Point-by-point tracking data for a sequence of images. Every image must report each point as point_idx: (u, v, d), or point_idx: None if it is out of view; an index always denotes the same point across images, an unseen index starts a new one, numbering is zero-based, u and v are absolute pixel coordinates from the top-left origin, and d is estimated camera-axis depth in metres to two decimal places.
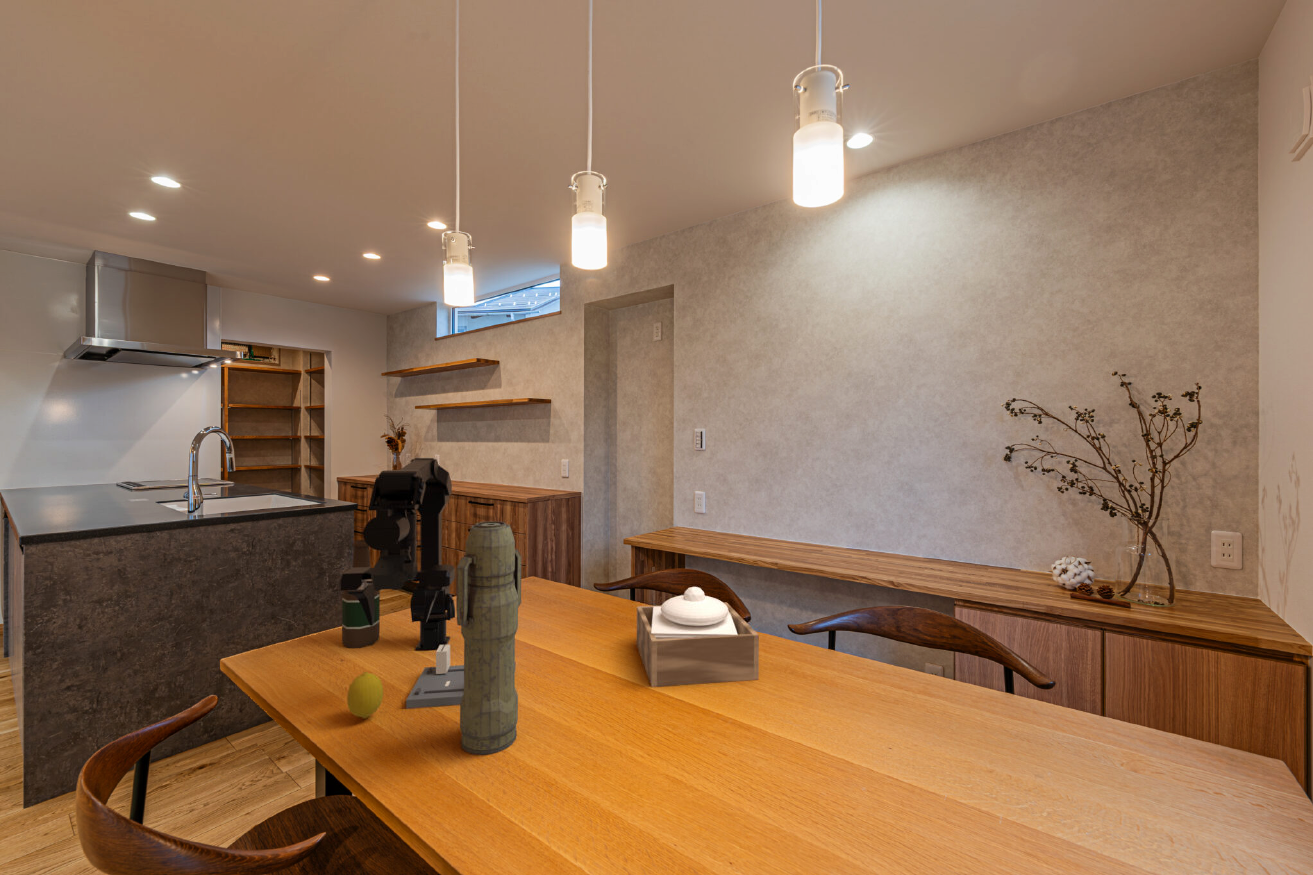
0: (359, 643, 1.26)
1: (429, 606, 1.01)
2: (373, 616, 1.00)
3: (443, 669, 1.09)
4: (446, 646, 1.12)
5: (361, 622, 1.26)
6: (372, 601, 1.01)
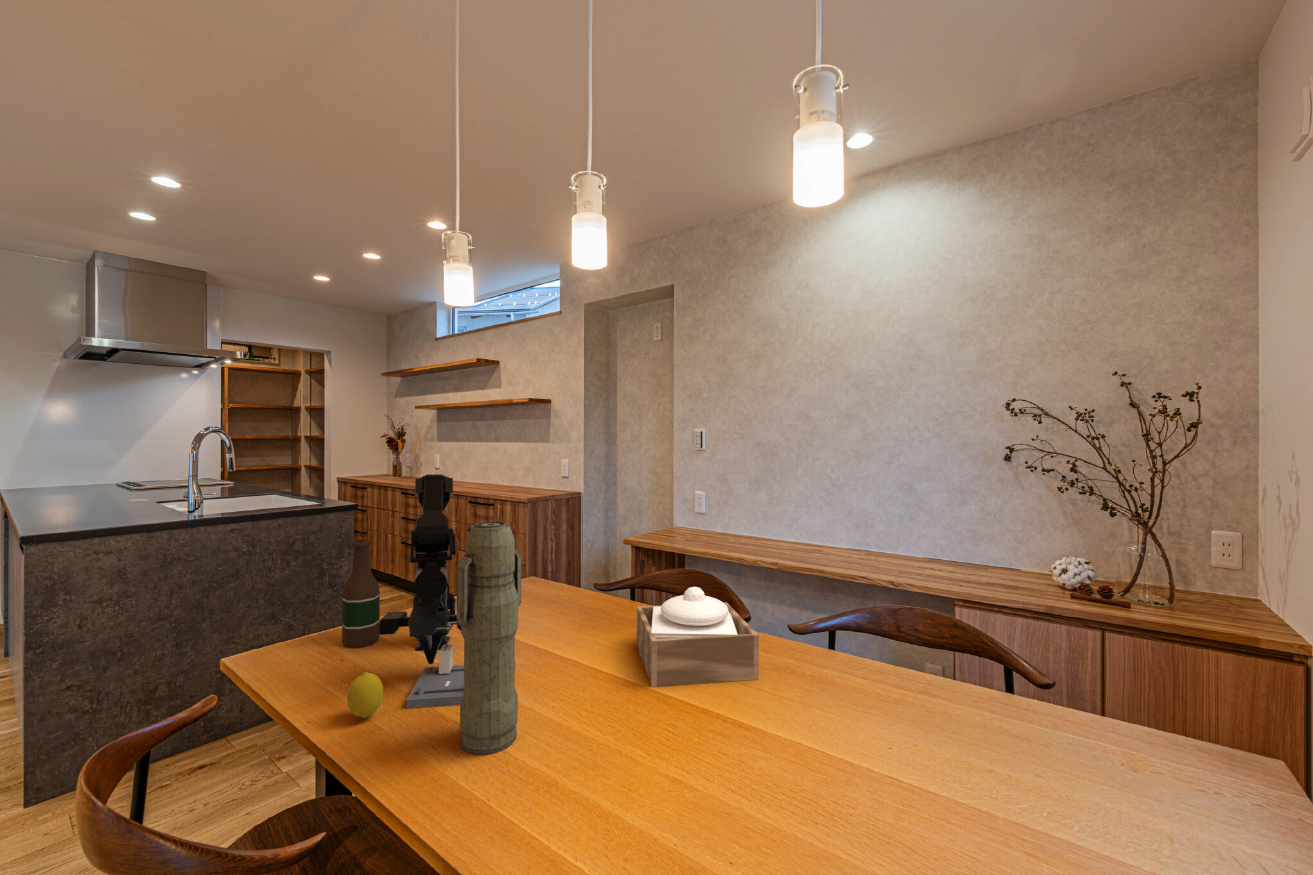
0: (359, 643, 1.26)
1: (435, 649, 1.09)
2: None
3: (446, 669, 1.09)
4: (449, 646, 1.12)
5: (361, 622, 1.26)
6: (430, 641, 1.11)
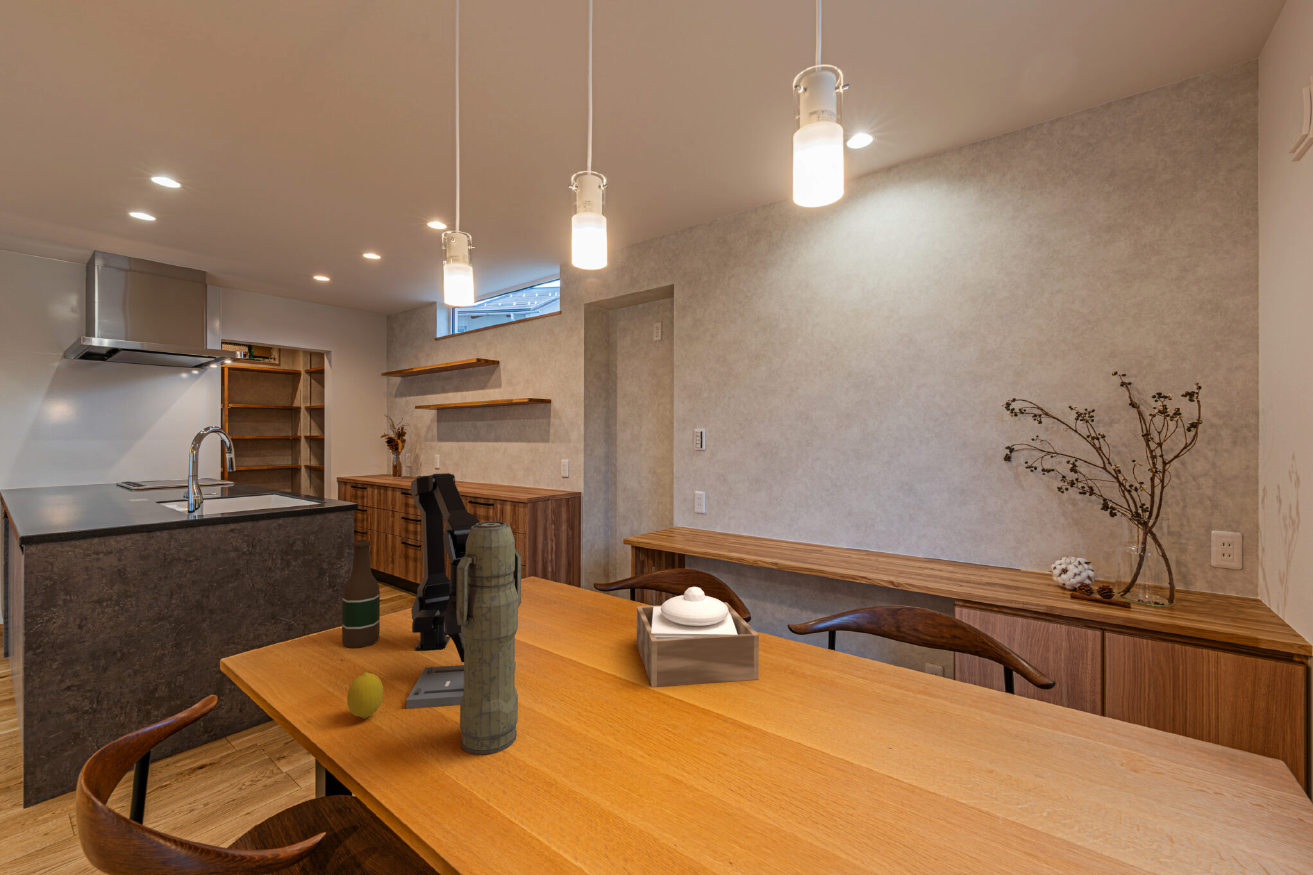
0: (359, 643, 1.26)
1: None
2: None
3: None
4: None
5: (361, 622, 1.26)
6: (463, 640, 1.12)
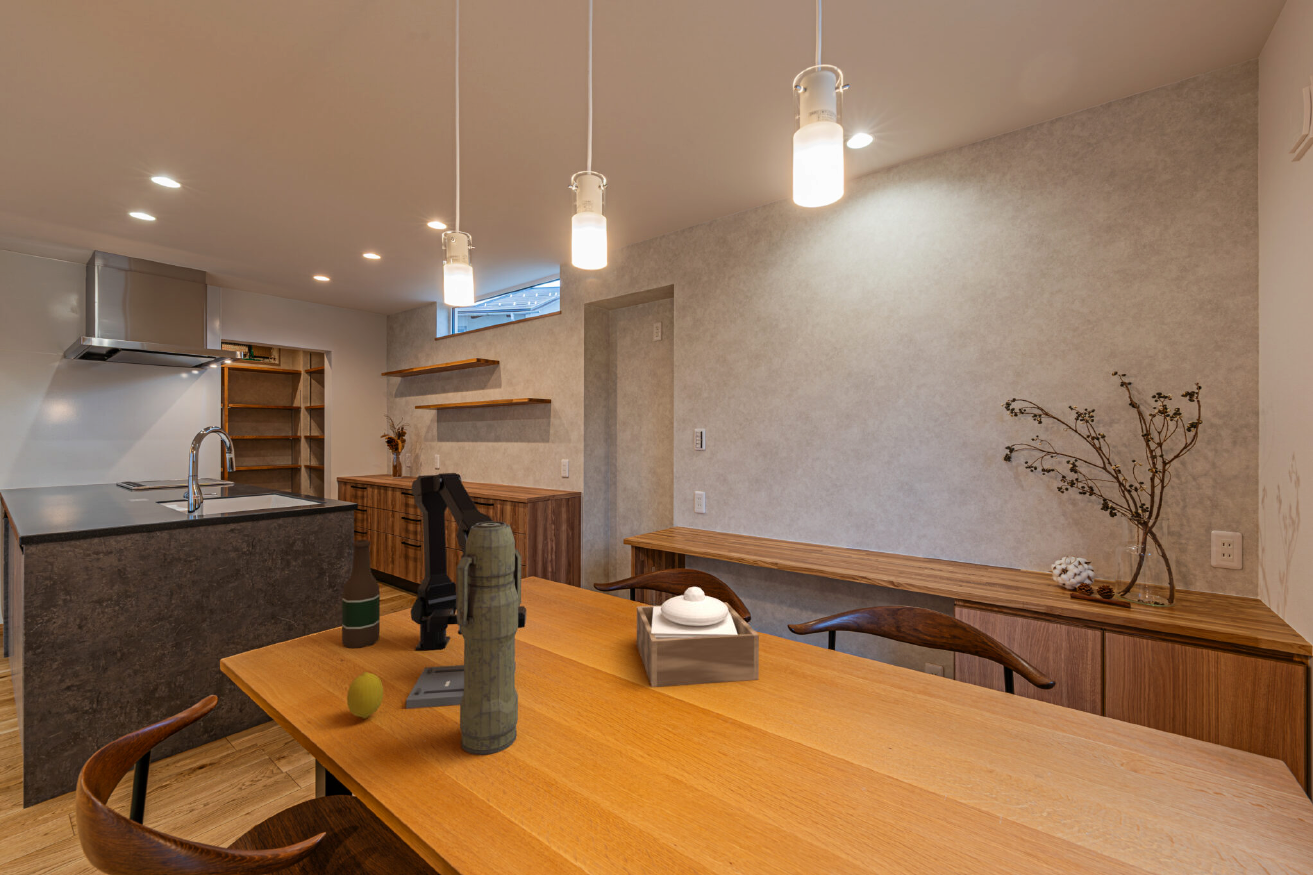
0: (359, 643, 1.26)
1: None
2: None
3: None
4: None
5: (361, 622, 1.26)
6: None
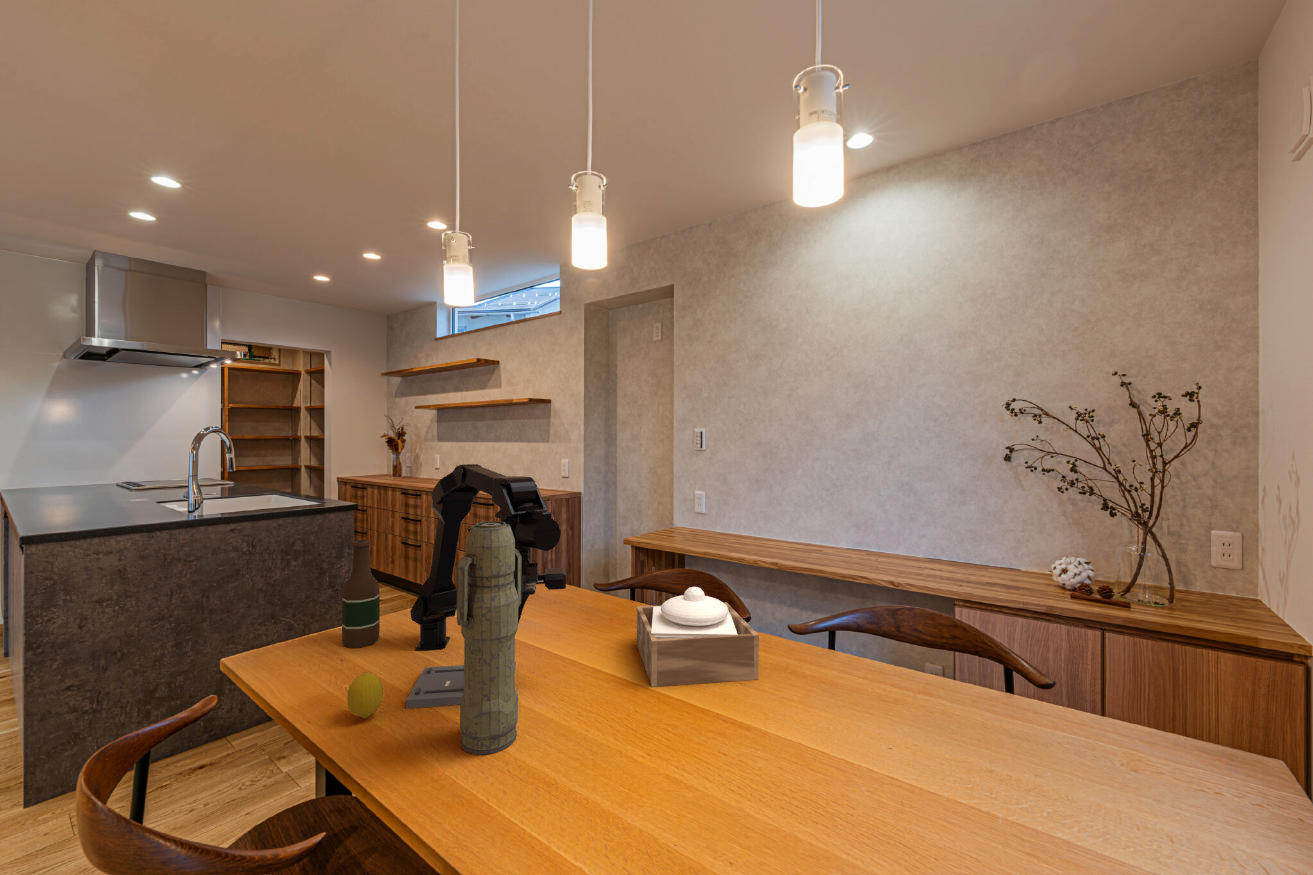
0: (359, 643, 1.26)
1: (521, 609, 1.03)
2: None
3: None
4: None
5: (361, 622, 1.26)
6: None
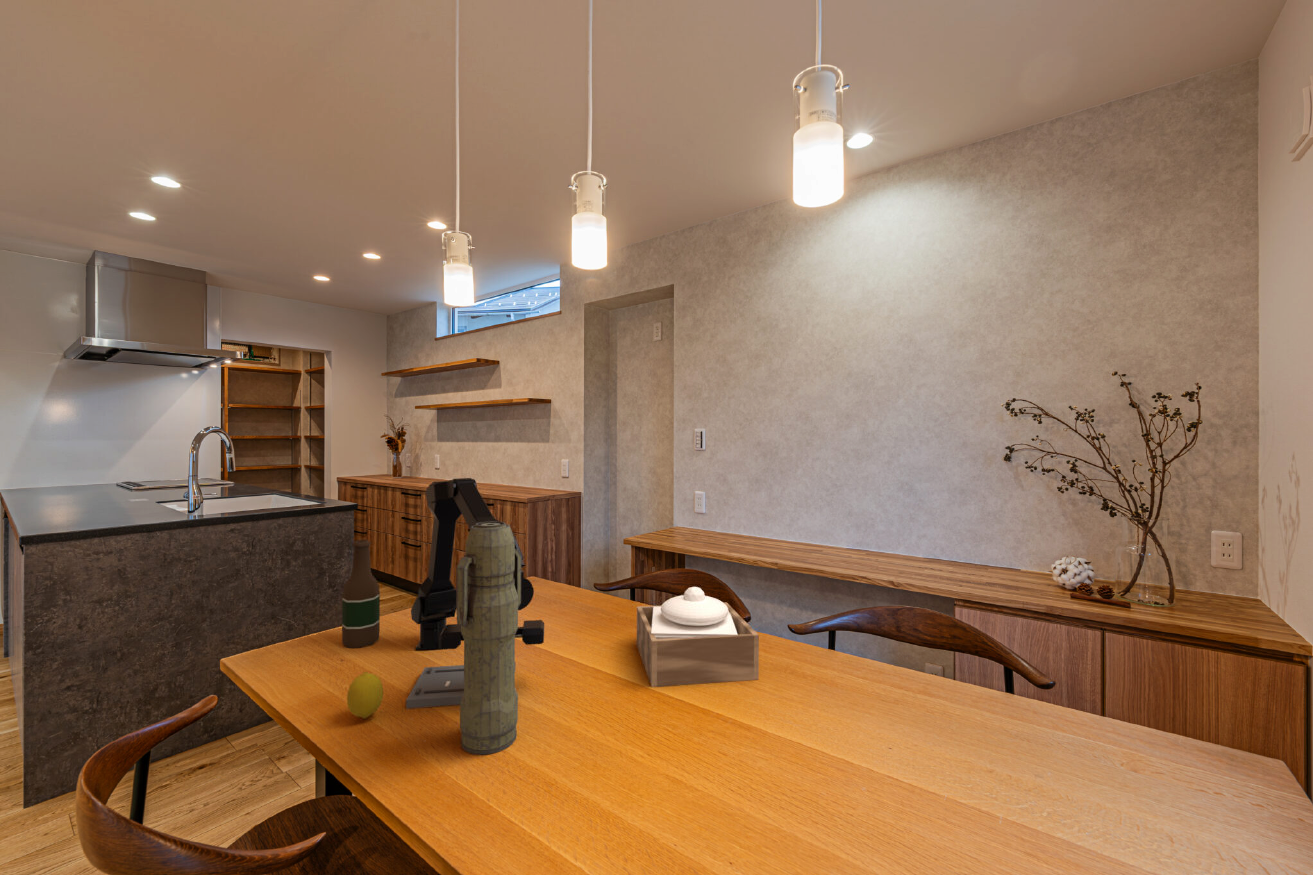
0: (359, 643, 1.26)
1: None
2: None
3: None
4: None
5: (361, 622, 1.26)
6: None
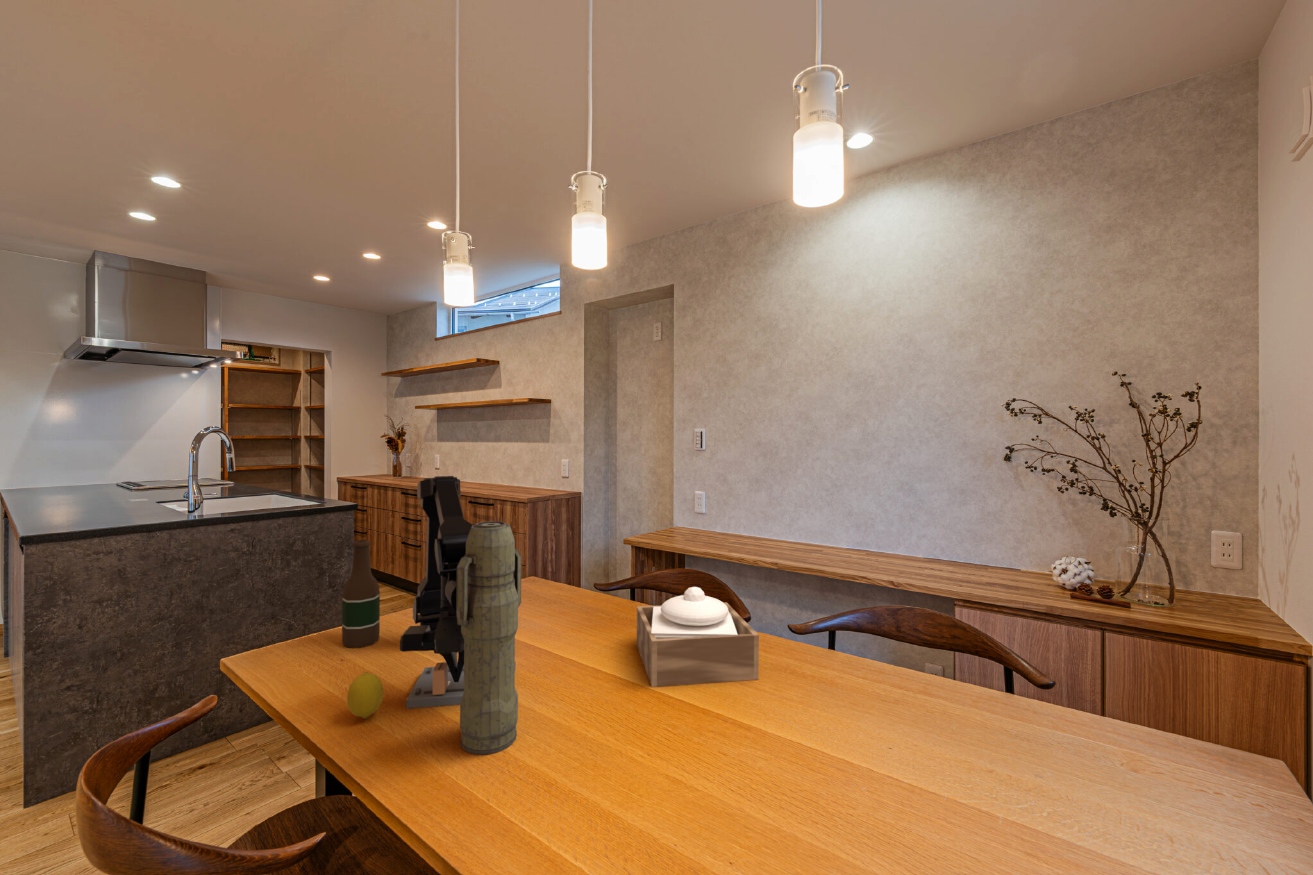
0: (359, 643, 1.26)
1: (462, 666, 1.02)
2: None
3: None
4: None
5: (361, 622, 1.26)
6: (455, 658, 1.03)
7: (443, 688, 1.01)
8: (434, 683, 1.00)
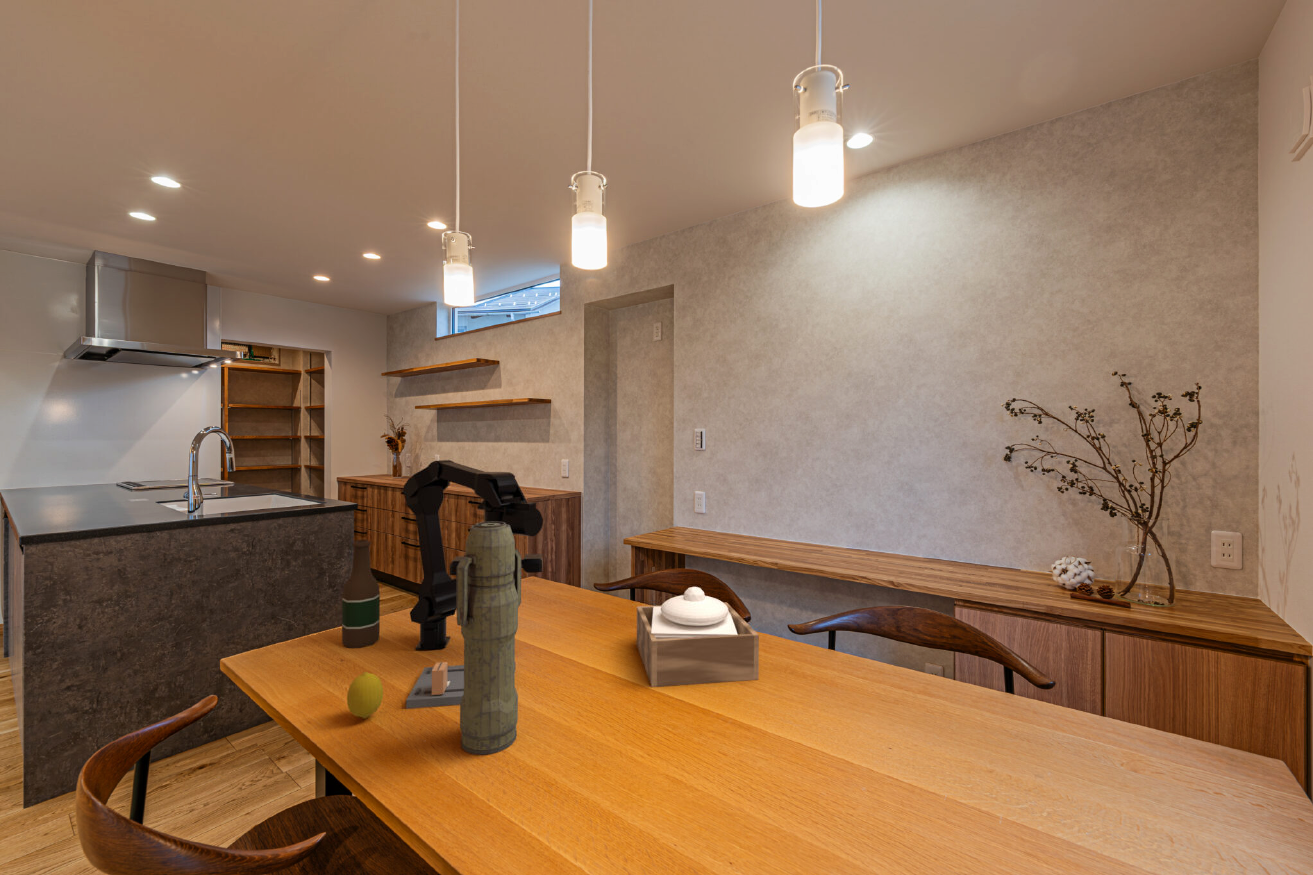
0: (359, 643, 1.26)
1: None
2: None
3: None
4: None
5: (361, 622, 1.26)
6: None
7: (442, 688, 1.01)
8: (433, 683, 1.00)
